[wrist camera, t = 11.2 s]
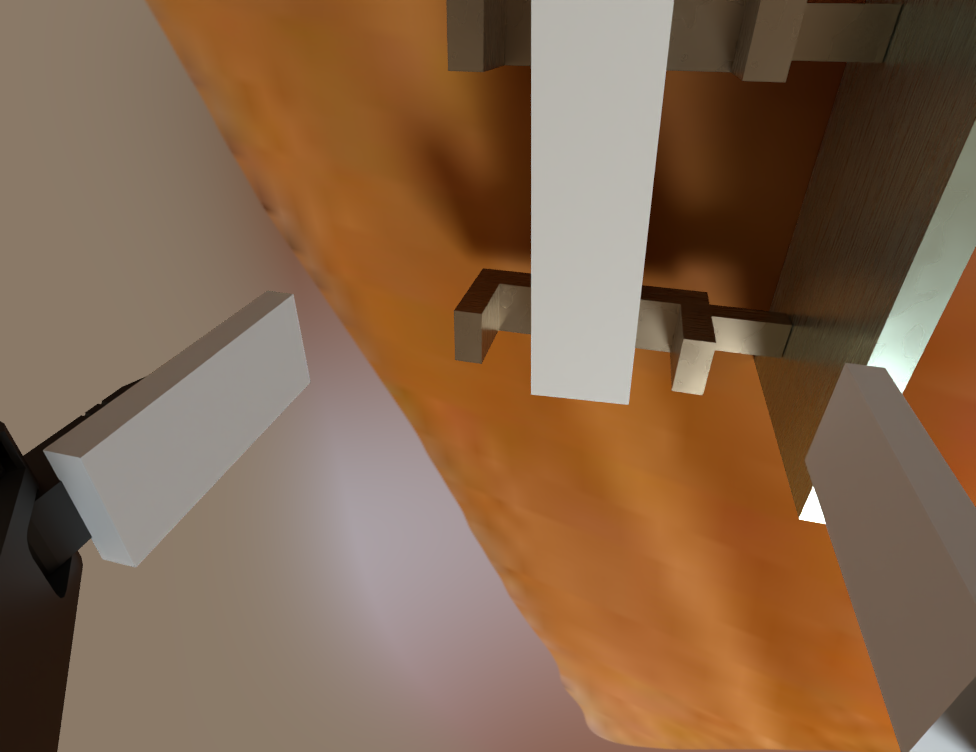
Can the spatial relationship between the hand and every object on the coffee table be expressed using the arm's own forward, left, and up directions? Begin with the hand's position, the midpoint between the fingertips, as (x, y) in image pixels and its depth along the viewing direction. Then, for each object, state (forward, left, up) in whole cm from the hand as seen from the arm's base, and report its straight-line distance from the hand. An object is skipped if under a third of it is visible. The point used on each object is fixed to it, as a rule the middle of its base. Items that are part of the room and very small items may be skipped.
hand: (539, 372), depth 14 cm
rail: (0, 0, -18) cm, 18 cm away
